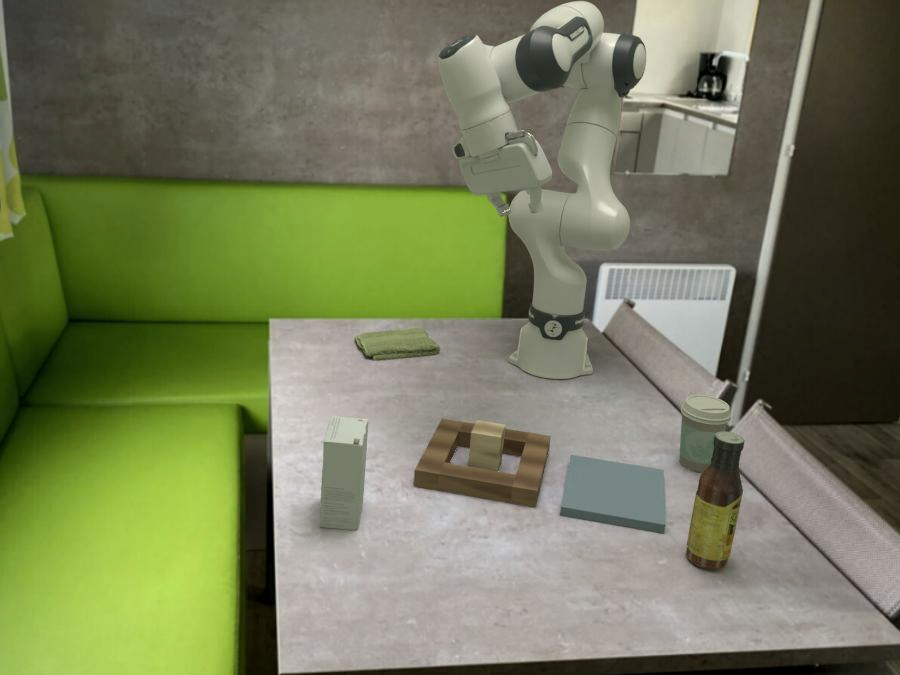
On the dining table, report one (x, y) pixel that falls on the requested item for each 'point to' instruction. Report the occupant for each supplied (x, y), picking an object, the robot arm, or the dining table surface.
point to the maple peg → (486, 445)
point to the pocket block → (482, 482)
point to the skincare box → (343, 473)
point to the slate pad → (615, 493)
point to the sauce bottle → (717, 505)
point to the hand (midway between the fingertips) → (521, 213)
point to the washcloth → (397, 344)
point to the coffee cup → (701, 429)
